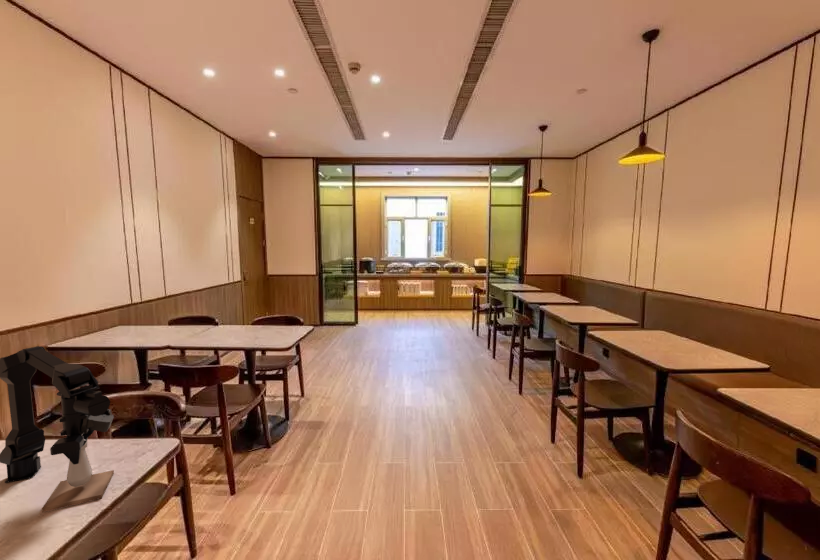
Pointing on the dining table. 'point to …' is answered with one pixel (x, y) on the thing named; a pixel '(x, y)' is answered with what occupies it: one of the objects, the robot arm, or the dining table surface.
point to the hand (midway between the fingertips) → (78, 460)
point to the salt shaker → (79, 470)
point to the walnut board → (78, 492)
